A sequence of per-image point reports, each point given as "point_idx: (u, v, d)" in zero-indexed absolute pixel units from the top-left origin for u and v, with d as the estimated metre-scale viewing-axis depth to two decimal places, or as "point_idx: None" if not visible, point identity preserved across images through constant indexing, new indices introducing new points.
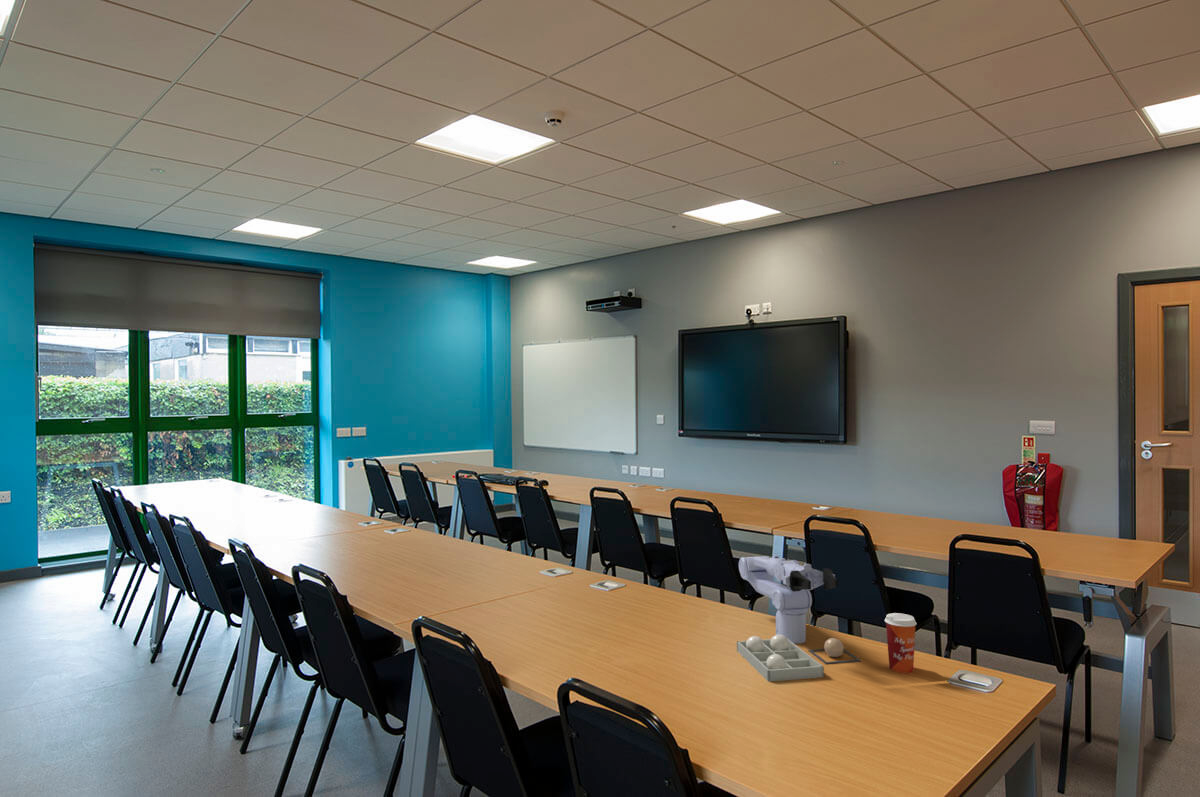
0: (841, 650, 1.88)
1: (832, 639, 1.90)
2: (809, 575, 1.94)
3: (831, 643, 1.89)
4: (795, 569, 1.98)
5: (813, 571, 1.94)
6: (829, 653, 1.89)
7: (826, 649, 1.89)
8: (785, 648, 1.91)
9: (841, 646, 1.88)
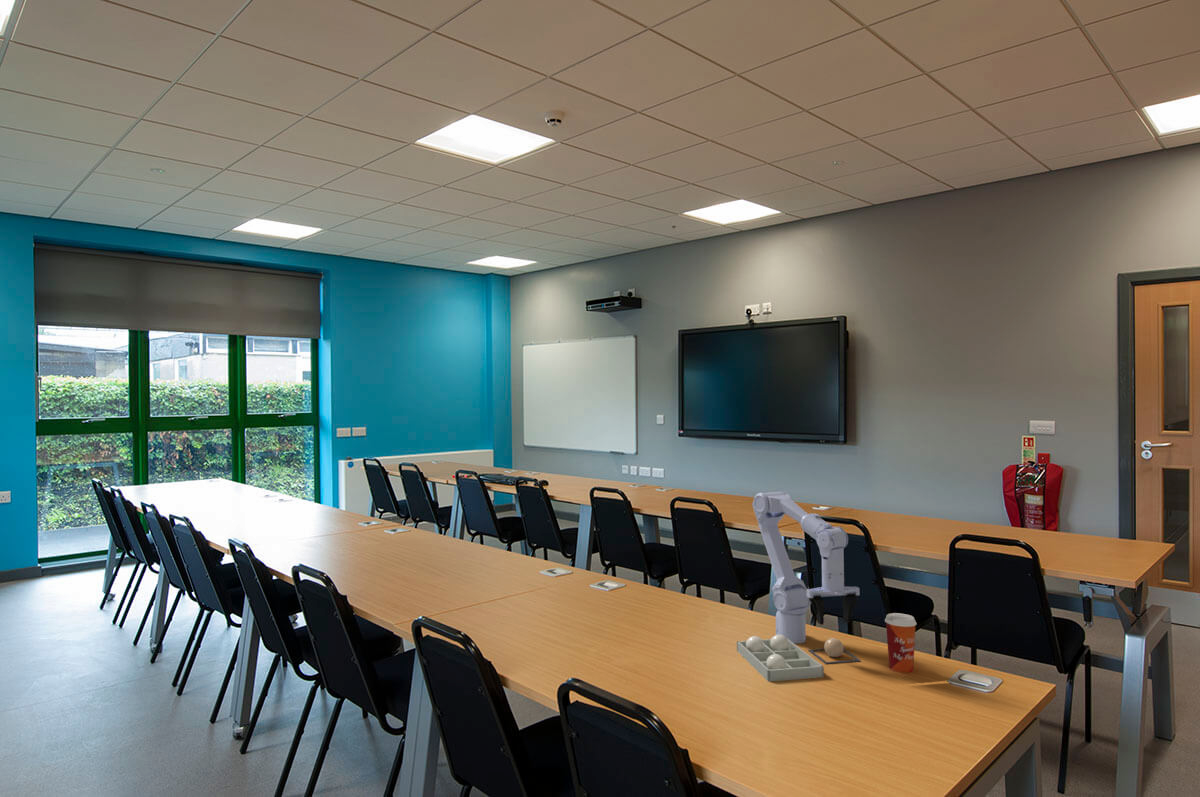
0: (841, 650, 1.88)
1: (832, 639, 1.90)
2: None
3: (831, 643, 1.89)
4: (829, 579, 1.88)
5: None
6: (829, 653, 1.89)
7: (826, 649, 1.89)
8: (785, 648, 1.91)
9: (841, 646, 1.88)
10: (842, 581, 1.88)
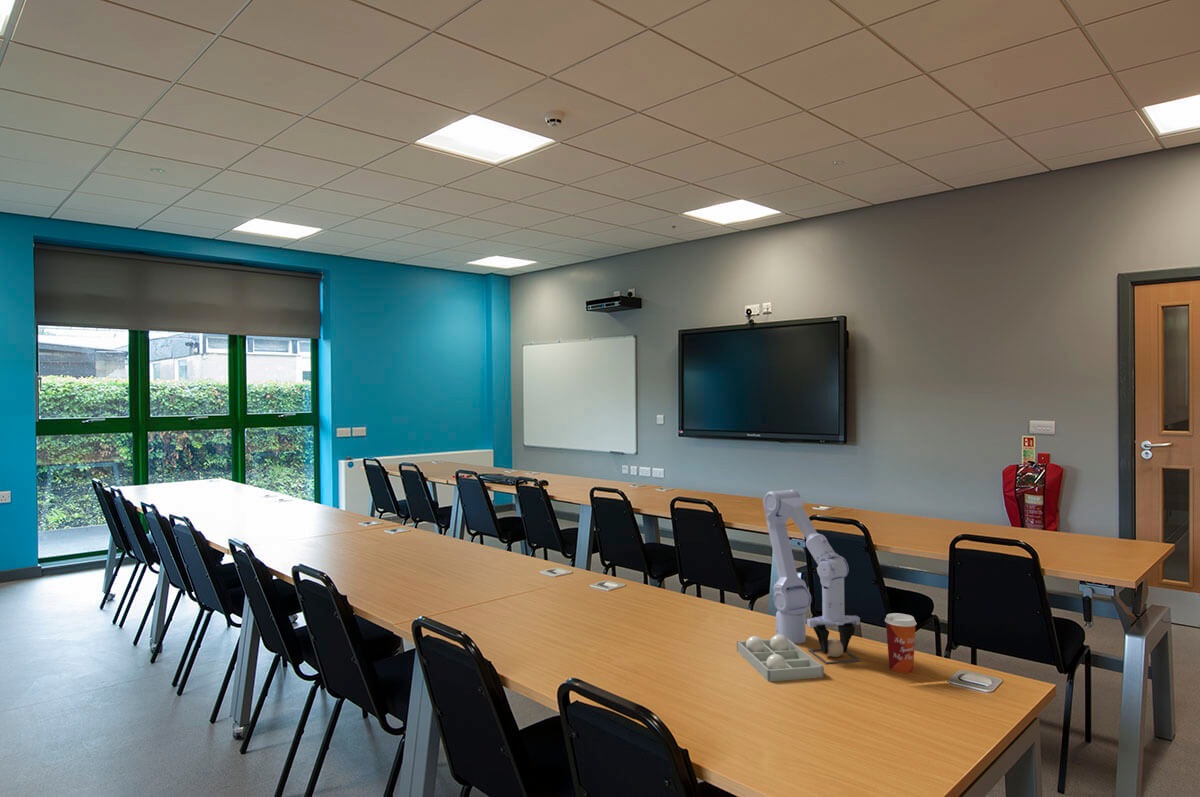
0: (841, 650, 1.88)
1: (832, 639, 1.90)
2: None
3: (831, 643, 1.89)
4: (830, 608, 1.88)
5: None
6: (829, 653, 1.89)
7: None
8: (785, 648, 1.91)
9: (841, 646, 1.88)
10: (842, 611, 1.88)
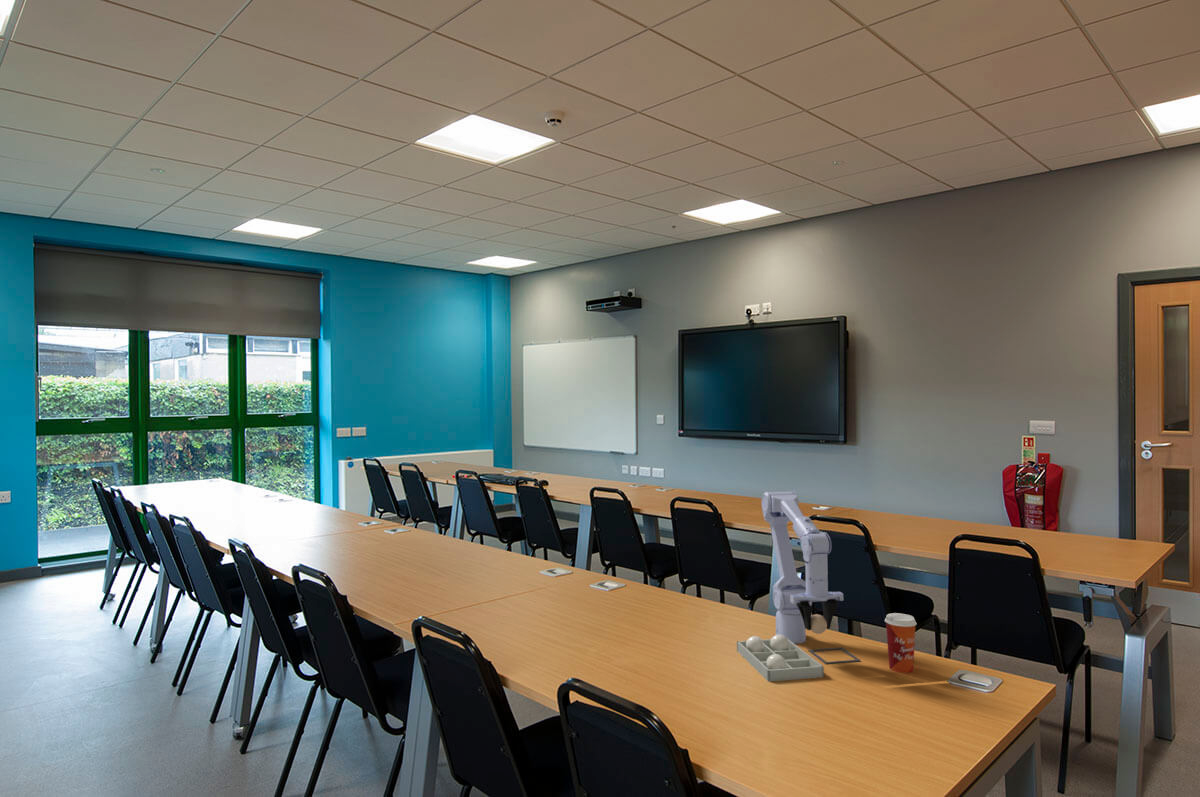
0: (825, 626, 1.87)
1: (816, 615, 1.88)
2: None
3: (815, 619, 1.87)
4: (813, 584, 1.86)
5: None
6: (813, 629, 1.87)
7: None
8: (785, 648, 1.91)
9: (825, 622, 1.87)
10: (826, 586, 1.87)
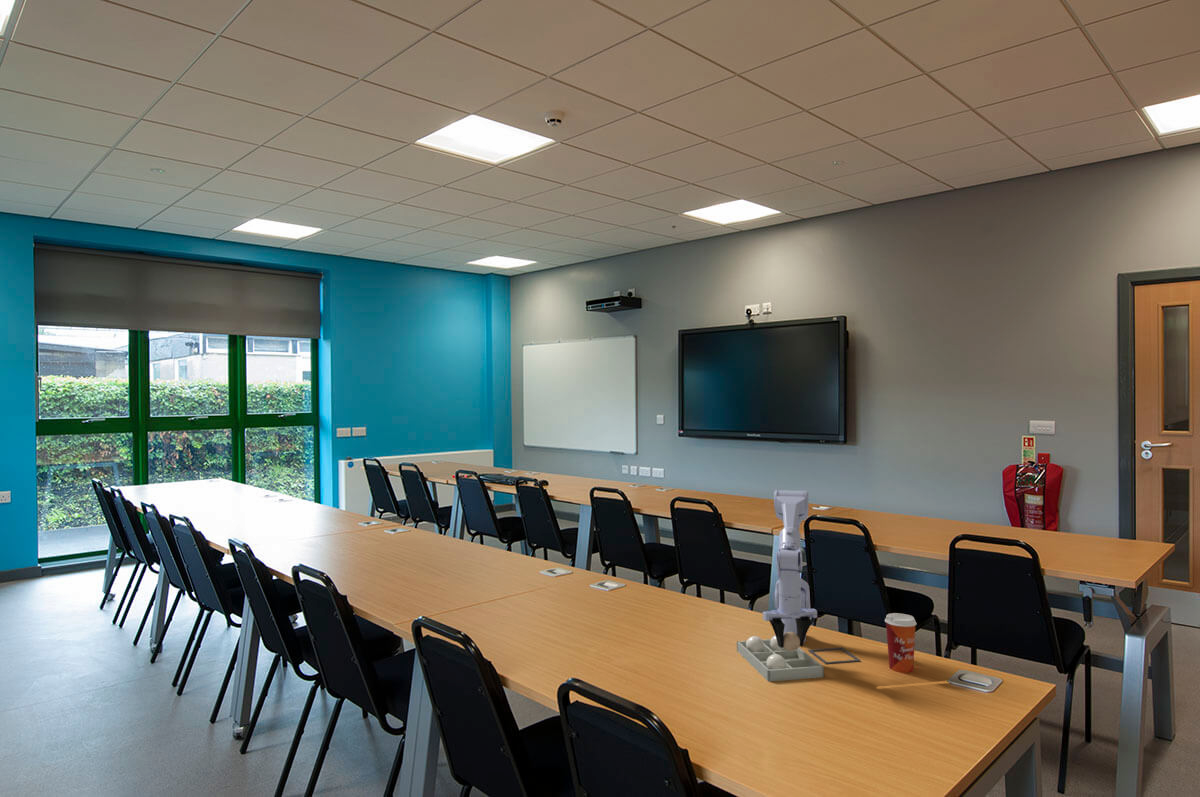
0: (797, 644, 1.84)
1: (789, 632, 1.86)
2: None
3: (787, 636, 1.85)
4: (786, 601, 1.84)
5: None
6: (785, 647, 1.85)
7: None
8: None
9: (797, 640, 1.84)
10: (799, 603, 1.84)
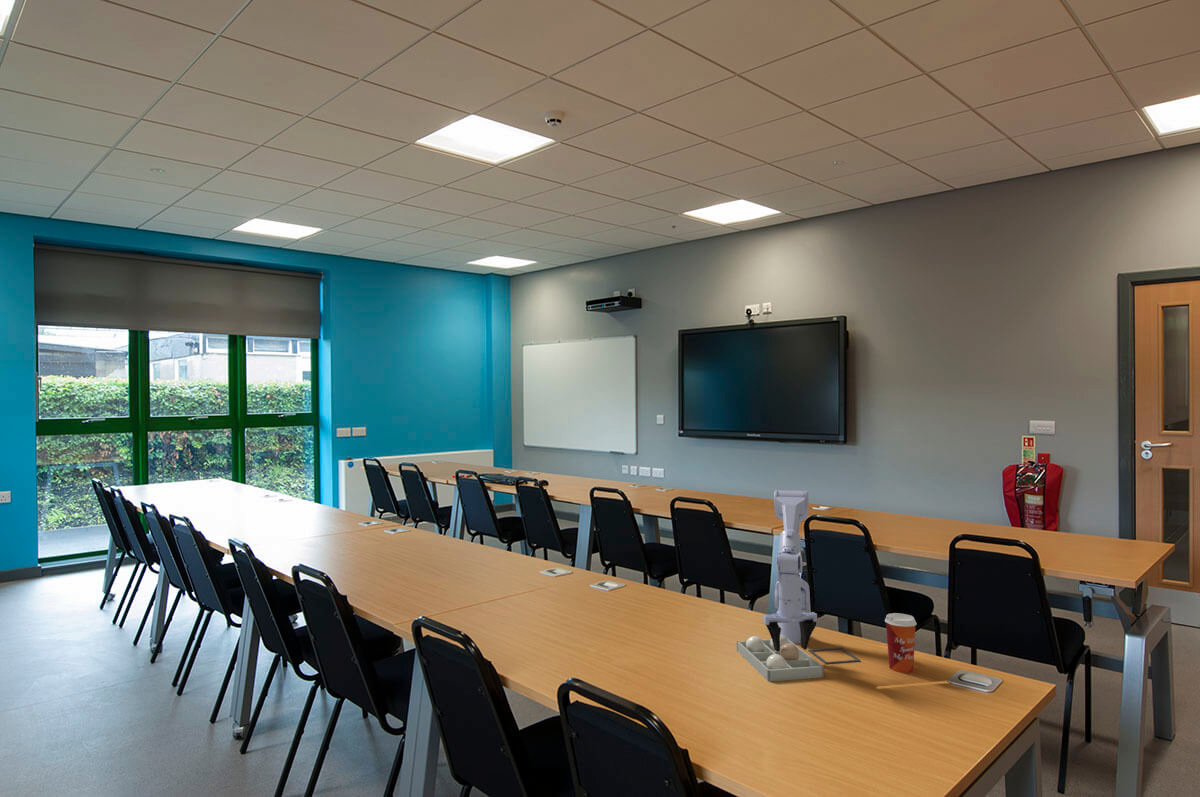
0: (796, 655, 1.84)
1: (786, 645, 1.85)
2: None
3: (785, 649, 1.84)
4: (786, 605, 1.84)
5: None
6: (785, 660, 1.84)
7: None
8: None
9: (796, 651, 1.84)
10: (799, 607, 1.84)
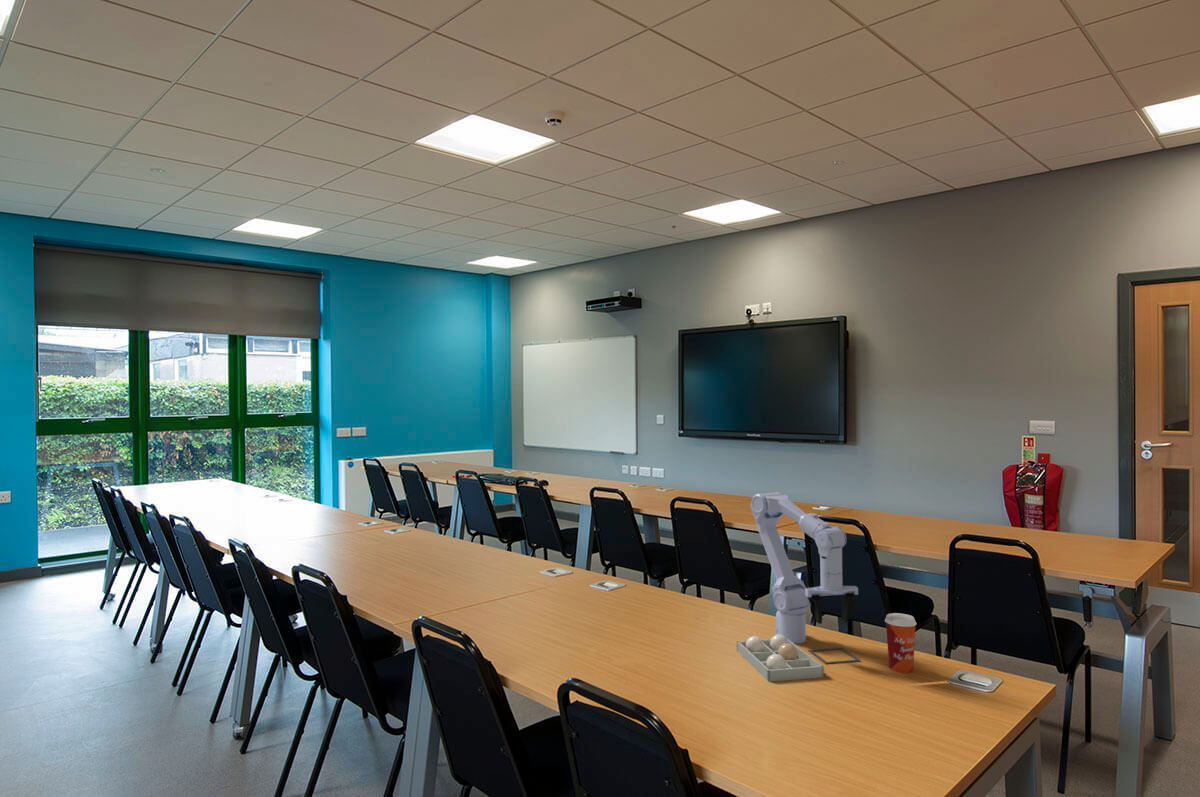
0: (794, 654, 1.84)
1: (783, 645, 1.85)
2: None
3: (783, 650, 1.84)
4: (828, 578, 1.89)
5: None
6: None
7: None
8: None
9: (793, 650, 1.84)
10: (840, 580, 1.89)
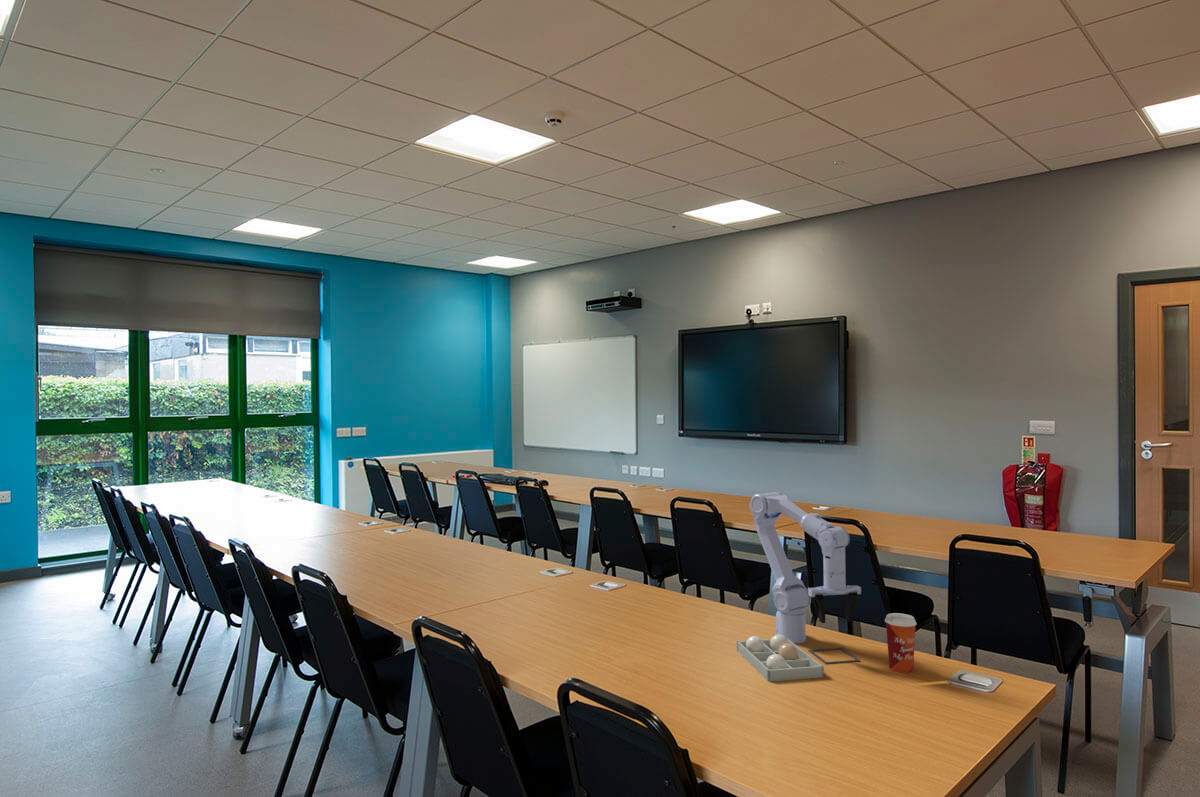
0: (795, 655, 1.84)
1: (784, 645, 1.85)
2: None
3: (783, 650, 1.84)
4: (831, 577, 1.89)
5: None
6: None
7: None
8: None
9: (794, 650, 1.84)
10: (844, 580, 1.89)
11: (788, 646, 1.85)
